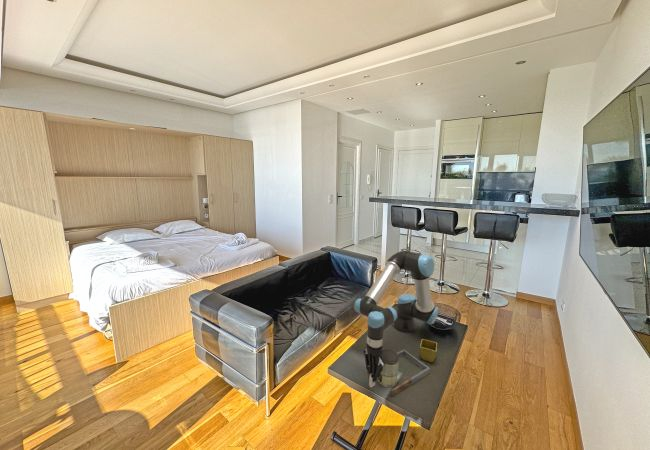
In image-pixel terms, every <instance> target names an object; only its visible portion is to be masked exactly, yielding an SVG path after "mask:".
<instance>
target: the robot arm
mask: <svg viewBox="0 0 650 450" xmlns="http://www.w3.org/2000/svg"><path fill="white" fill-rule="evenodd" d="M384 265H385V267H384V268H383V269H382V271H381V272H380V273H379V275H378V277H376V279H375V281H374V283H373V284H372V285H371V287H370V288H369V290H368V292H367V293H366V294H365V296H364V297H363V298H357V299H356V300H355V302H354V306H353V308H354V311H355V312H357V314H360V315H362V316H365V317H367V322H366V323H367V329H366V330H367V333H366V346H365V347H366V348H365V349H364V350H363V355H364V362H365V370H366V371H367V370H368V372H369V374H368V378H369V379H368V380H369V381H368V386H369V387H370V388H373V387H374V386H376V381H377V377H379V376H380V374H381V371H382V368H383V366H384V365H385V363H384V362H382V361H381V353H382V350H383V344H384V343H383V339H384V330H385V329H386V328H388V327H389V326H391V325H392V324H393V327H394V328H395V329H396V330H397V331H399V332H402V333H406V334H408V333H409V334H411V333H414V332H415V331H416V330H417V324H416V320H419V321H422V322H423V323H426V324H430V325H433V324H434V323H435V322H436V320H437V318H438V315H439V310H440V309H439V307H438V306H435V303H434V301H433V300H432V294H431V287H430V286H431V285H430V277H431V276H432V275H433V274H434V271H435V261H434V259H433V257H432V256H430V255H427V254H423V253H418V252H413V251H409V250H400V251H398V252H396V253H394V254H392V255H391V256H390V257H389V258H388V259H387V260H386V262H385V263H384ZM401 271H405V272H409V274H410V277H411V278H412V279H413V284H414V289H415V295H416V296H415V295H413V294H410V293H404V294H401V295H399V296H398V299H397V305H396V307H397V308H396V309H395V308H394V307H392V306H386V307H383V306H379V305H378V303H379V301H380V300H381V299H382V297H383V295H384V294H385V292H386V290H387V289H388V287H389V286H390V284H391V283H392V281H393V280H394V278H395V276H396V275H397V274H399V273H401ZM415 319H416V320H415ZM378 363H379V364H378Z"/></svg>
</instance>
